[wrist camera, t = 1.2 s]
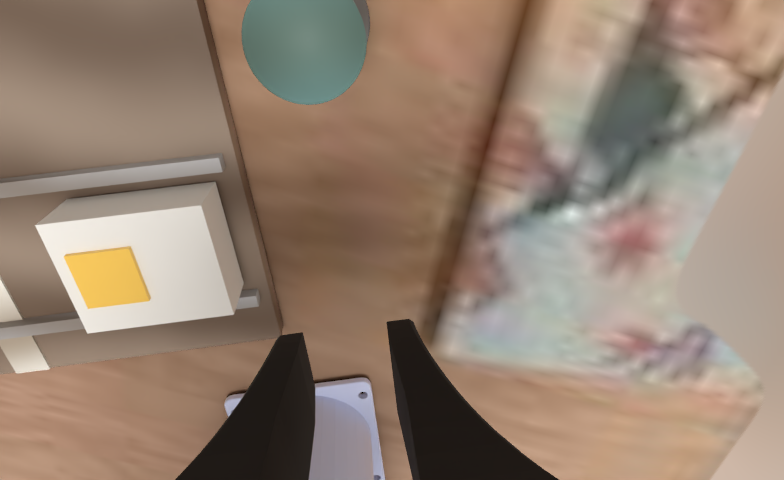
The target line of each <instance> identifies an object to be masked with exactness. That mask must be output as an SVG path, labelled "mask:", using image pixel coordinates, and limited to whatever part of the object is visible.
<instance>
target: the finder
mask: <svg viewBox="0 0 784 480" xmlns="http://www.w3.org/2000/svg"><path fill="white" fill-rule="evenodd" d="M35 226H36V228H37V230H38V233H39V235H40V237H41V239H42V241H43V243H44V245H45V247H46V249H47V251H48V253H49V255H50V257H51V259H52V261H53V264H54V266H55V268H56V270H57V272H58V274H59V276H60V278H61V280H62V282H63V284H64V286H65V288H66V290H67V292H68V295H69V297H70V299H71V301H72V303H73V305H74V307H75V309H76V311H77V313H78V315H79V317H80V319H81V321H82V323H83V325H84V328H85V330H86V332H87V334H88V333H96V332H104V331H111V330H119V329H127V328H135V327H142V326H150V325H158V324H166V323H173V322H181V321H189V320H197V319H204V318H212V317H220V316H228V315H234V313H235V310H236V307H237V303H238V300H239V297H240V294H241V291H242V287H243V284H244V282H243V279H242V275H241V272H240V268H239V264H238V261H237V257H236V254H235V250H234V246H233V243H232V239H231V236H230V232H229V228H228V225H227V221H226V218H225V214H224V210H223V207H222V203H221V200H220V196H219V193H218V189H217V185H216V182H208V183H199V184H191V185H182V186H174V187H166V188H157V189H149V190H140V191H132V192H124V193H115V194H107V195H98V196H90V197H81V198H73V199H67V200H65V201H64V202H63V203H62V204H60V205H59V206H58V207H57V208H56V209H54V210H53V211H52V212H51V213H49V214H48V215H47V216H46V217H45V218H43V219H42V220H41V221H40V222H38V223H37V224H36V225H35Z"/></svg>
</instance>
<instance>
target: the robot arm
mask: <svg viewBox="0 0 784 480" xmlns="http://www.w3.org/2000/svg"><path fill="white" fill-rule="evenodd" d="M387 329H388V337H389V345H390V354H391V362H392V370H393V379H394V387H395V395H396V403H397V411H398V416H399V420H400V425H401V429H402V434H403V438H404V442H405V447H406V451H407V455H408V460H409V464H410V469H411V473H412V477H413V480H558V479H557V478H555V477H554V476H553V475H551V474H550V473H548V472H547V471H545V470H544V469H542V468H541V467H540V466H538V465H537V464H536V463H534V462H533V461H532V460H530V459H529V458H528V457H526V456H525V455H524V454H523V453H521V452H520V451H519V450H518V449H517V448H515V447H514V446H513V445H512V444H511V443H510V442H508V441H507V440H506V439H505V438H504V437H502V436H501V435H500V434H499V433H498V432H497V431H495V430H494V429H493V428H492V427H491V426H490V425H489V424H488V423H487V422H486V421H485V420H484V419H483V418H482V417H481V416H480V415H479V414H478V413H477V412H476V411H475V410H474V409H473V408H472V407H471V406H470V405H469V403H468V402H467V401H466V400H465V399H464V398H463V397H462V396H461V394H460V393H459V392H458V391H457V390H456V388H455V387H454V386H453V385H452V384H451V382H450V381H449V380H448V378H447V377H446V376H445V374H444V373H443V372H442V370H441V369H440V368H439V366H438V365H437V363H436V362H435V360H434V359H433V358H432V356H431V355H430V353H429V351H428V350H427V348H426V346H425V345H424V343H423V341H422V340H421V338H420V336H419V334H418V332H417V330H416V328H415V325H414V322H413V321H411V320H410V319H405V320H397V321H389V322H387ZM361 392H366V393H364V394H361ZM224 405H225V409H226V412H227V415H228V419H227V420H226V421H225V423H224V424H223V425H222V427H221V428H220V429H219V431H218V432H217V433H216V434H215V436H214V437H213V438H212V439H211V441H210V442H209V443H208V444H207V445H206V447H205V448H204V449H203V450H202V451H201V453H200V454H199V455H198V456H197V457H196V458H195V459H194V460H193V461H192V462H191V464H190V465H189V466H188V467H187V468H186V469H185V470H184V471H183V472H182V473H181V474H180V475H179V476H178V477H177V478H176V480H385V474H384V468H383V461H382V455H381V448H380V441H379V435H378V428H377V421H376V415H375V408H374V402H373V395H372V388H371V383H370V380H368V379H367V378H353V379H346V380H338V381H331V382H324V383H316V384H314V380H313V375H312V371H311V367H310V362H309V358H308V354H307V349H306V345H305V340H304V336H303V333H295V334H288V335H280V336H279V337H278V339H277V340H276V342H275V344H274V346H273V347H272V349H271V351H270V353H269V355H268V357H267V358H266V360H265V362H264V364H263V365H262V367H261V369H260V370H259V372H258V374H257V375H256V377H255V379H254V380H253V382H252V383H251V385H250V387H249V388H248V390H247V391H246V393H242V394H235V395H230V396H228V397H227V398H226V400H225V404H224Z"/></svg>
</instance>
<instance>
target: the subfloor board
mask: <svg viewBox="0 0 784 480" xmlns="http://www.w3.org/2000/svg"><path fill="white" fill-rule="evenodd" d="M208 182H216V185H217V189H218V193H219V196H220V200H221V203H222V207H223V210H224V214H225V218H226V221H227V225H228V228H229V232H230V236H231V239H232V243H233V246H234V250H235V254H236V257H237V261H238V264H239V268H240V272H241V275H242V279H243V282H244V284H243V287H242V291H241V294H240V297H239V300H238V303H237V307H236V310H235V313H234V315H228V316H220V317H212V318H204V319H197V320H189V321H181V322H173V323H166V324H158V325H150V326H142V327H135V328H127V329H119V330H111V331H104V332H96V333H88V334H87V332H86V330H85V328H84V325H83V323H82V321H81V319H80V317H79V315H78V313H77V311H76V309H75V307H74V305H73V303H72V301H71V299H70V297H69V295H68V292H67V290H66V288H65V286H64V284H63V282H62V280H61V278H60V276H59V274H58V272H57V270H56V268H55V266H54V264H53V261H52V259H51V257H50V255H49V253H48V251H47V249H46V247H45V245H44V243H43V241H42V239H41V237H40V235H39V233H38V230H37V228H36V226H35V225H36V224H37V223H38V222H40V221H41V220H42V219H43V218H45V217H46V216H47V215H48V214H49V213H51V212H52V211H53V210H54V209H56V208H57V207H58V206H59V205H60V204H62V203H63V202H64V201H65V200H67V199H73V198H81V197H90V196H98V195H107V194H115V193H124V192H132V191H140V190H149V189H157V188H166V187H174V186H182V185H191V184H199V183H208ZM282 329H283V322H282V318H281V314H280V310H279V306H278V302H277V298H276V294H275V290H274V286H273V282H272V278H271V273H270V269H269V265H268V261H267V257H266V253H265V249H264V245H263V241H262V237H261V233H260V229H259V224H258V220H257V216H256V212H255V208H254V204H253V200H252V196H251V192H250V188H249V184H248V180H247V176H246V171H245V167H244V163H243V159H242V155H241V151H240V147H239V143H238V139H237V135H236V131H235V127H234V123H233V118H232V114H231V110H230V106H229V102H228V98H227V94H226V90H225V86H224V82H223V78H222V74H221V70H220V65H219V61H218V57H217V53H216V49H215V45H214V41H213V37H212V33H211V29H210V25H209V21H208V16H207V12H206V8H205V4H204V0H0V374H7V373H14V372H16V373H24V372H32V371H39V370H47V369H50V368H52V367H60V366H68V365H75V364H83V363H91V362H98V361H106V360H114V359H121V358H129V357H136V356H144V355H152V354H159V353H167V352H175V351H182V350H190V349H197V348H205V347H213V346H220V345H228V344H236V343H243V342H251V341H259V340H266V339H274V338H278V337H279V336H280V335H282Z"/></svg>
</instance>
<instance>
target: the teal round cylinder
mask: <svg viewBox="0 0 784 480" xmlns="http://www.w3.org/2000/svg"><path fill="white" fill-rule="evenodd" d="M369 30H370V17H369V11H368V7H367V3H366V0H251V1H250V3H249V5H248V7H247V9H246V12H245V15H244V19H243V23H242V44H243V50H244V53H245V57H246V60H247V62H248V64H249V66H250V68H251V70H252V72H253V73H254V75H255V76H256V78H257V79H258V80H259V81H260V82H261V83H262V84H263V86H264V87H266V88H267V89H268V90H269V91H270V92H272V93H273V94H275V95H276V96H278V97H280V98H282V99H284V100H287V101H290V102H293V103H297V104H306V105H311V104H320V103H324V102H327V101H330V100H332V99H334V98H336V97H338V96H339V95H341V94H342V93H344V92H345V91H346V90H347V89H348V88H349V87H350V86H351V85H352V84H353V83H354V81H355V80H356V78H357V77H358V75H359V73H360V71H361V69H362V66H363V63H364V60H365V55H366V45H367V41H368V36H369Z"/></svg>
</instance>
